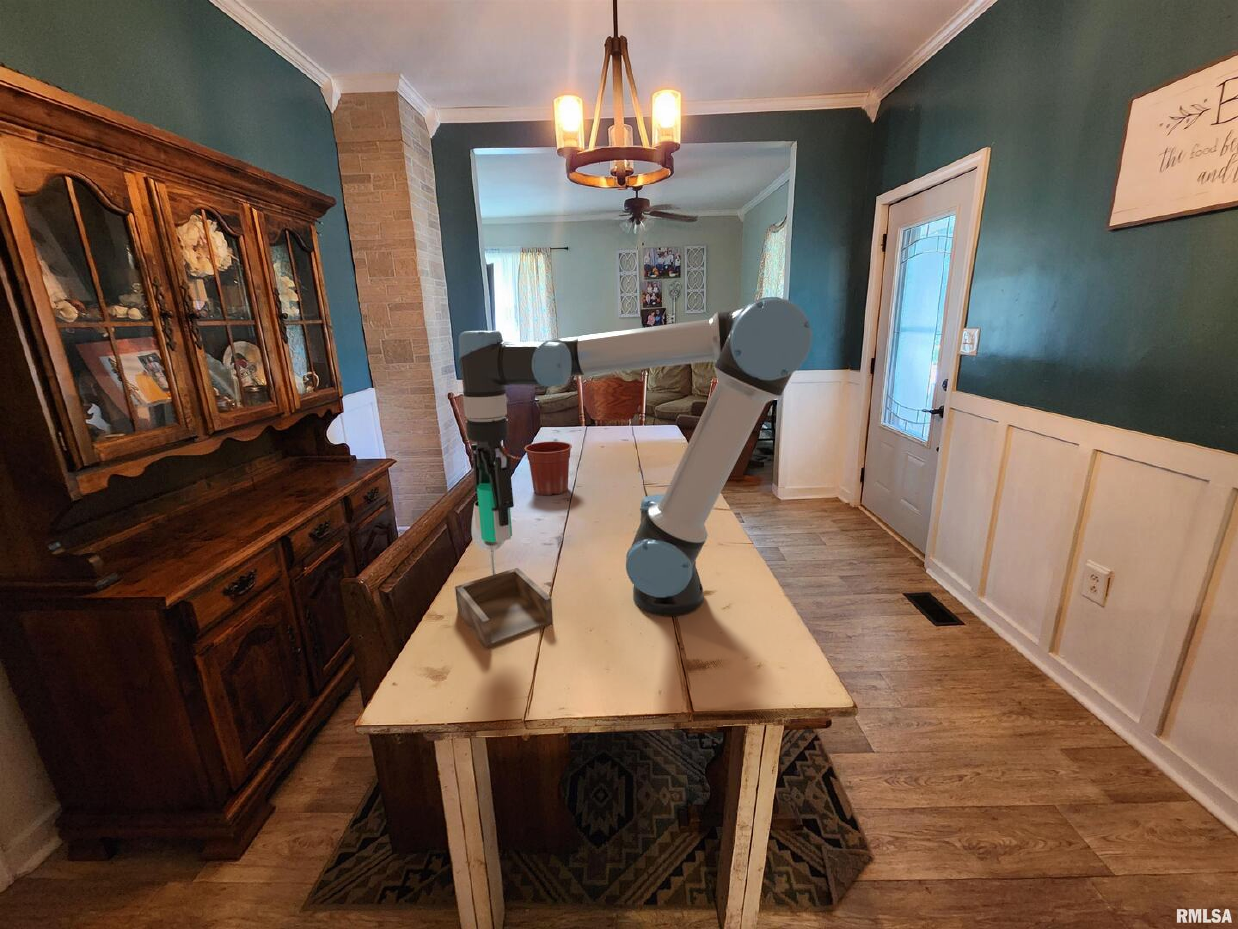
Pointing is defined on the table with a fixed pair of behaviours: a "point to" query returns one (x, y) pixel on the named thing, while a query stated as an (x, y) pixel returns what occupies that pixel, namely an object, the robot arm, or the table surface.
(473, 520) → the wineglass
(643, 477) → the table surface
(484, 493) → the candle
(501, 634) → the tray
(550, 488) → the flower pot
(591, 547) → the table surface
